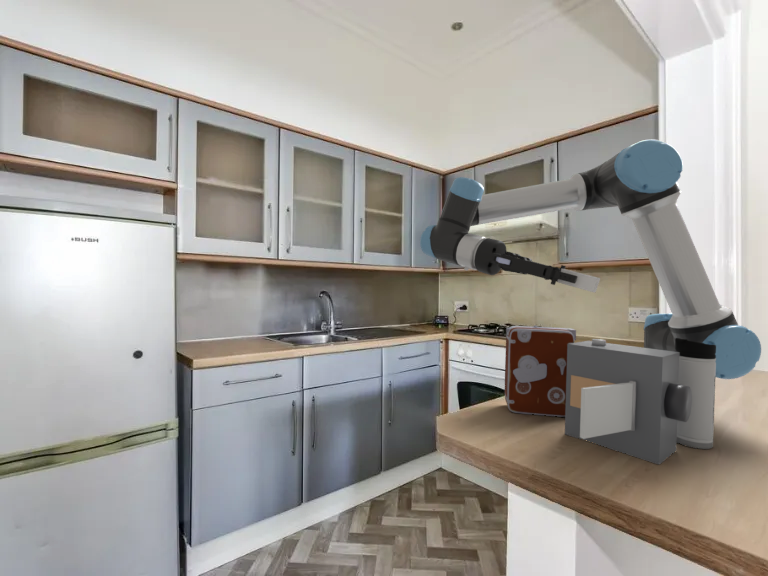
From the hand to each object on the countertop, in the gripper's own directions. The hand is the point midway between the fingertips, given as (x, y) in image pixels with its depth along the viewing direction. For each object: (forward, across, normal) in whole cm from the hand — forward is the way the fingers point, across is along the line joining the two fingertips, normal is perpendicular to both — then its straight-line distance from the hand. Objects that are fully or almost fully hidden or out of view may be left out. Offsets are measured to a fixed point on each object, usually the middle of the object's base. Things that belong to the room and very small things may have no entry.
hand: (596, 285), depth 70 cm
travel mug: (+20, -19, -25) cm, 37 cm away
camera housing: (+11, -8, -28) cm, 31 cm away
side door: (+10, +3, -23) cm, 25 cm away
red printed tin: (-5, -17, -32) cm, 36 cm away
